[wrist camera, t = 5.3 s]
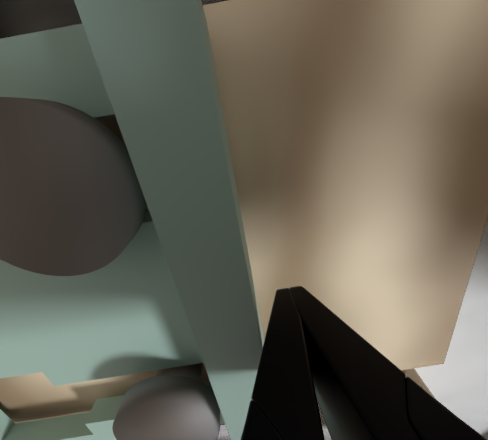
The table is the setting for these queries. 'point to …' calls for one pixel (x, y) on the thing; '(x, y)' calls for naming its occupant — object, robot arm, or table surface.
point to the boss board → (282, 186)
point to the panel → (153, 226)
